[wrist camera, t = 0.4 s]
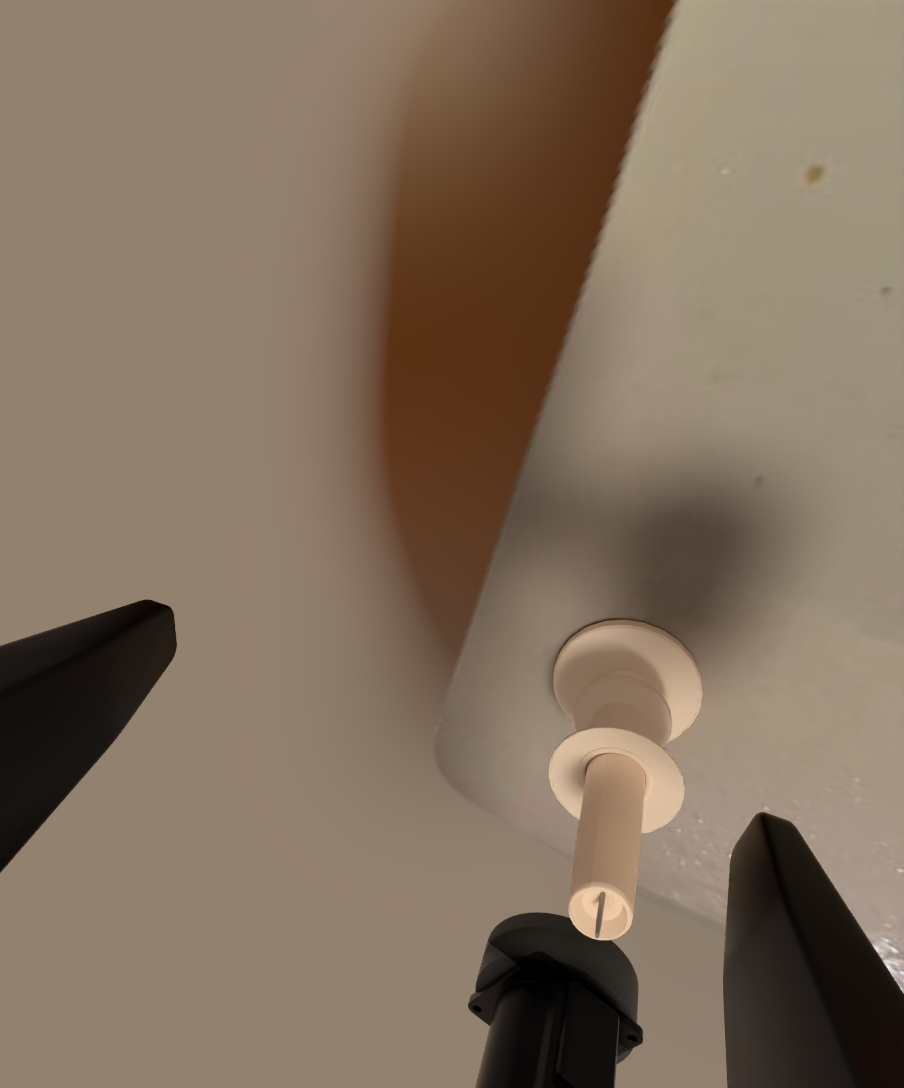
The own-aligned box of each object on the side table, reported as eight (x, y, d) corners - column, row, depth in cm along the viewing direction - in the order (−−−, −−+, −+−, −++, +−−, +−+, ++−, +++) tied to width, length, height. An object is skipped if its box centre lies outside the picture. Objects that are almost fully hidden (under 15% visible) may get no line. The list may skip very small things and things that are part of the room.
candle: (595, 593, 23) (543, 807, 13) (732, 665, 22) (775, 939, 13) (531, 696, 25) (451, 937, 16) (653, 763, 24) (643, 1053, 15)
